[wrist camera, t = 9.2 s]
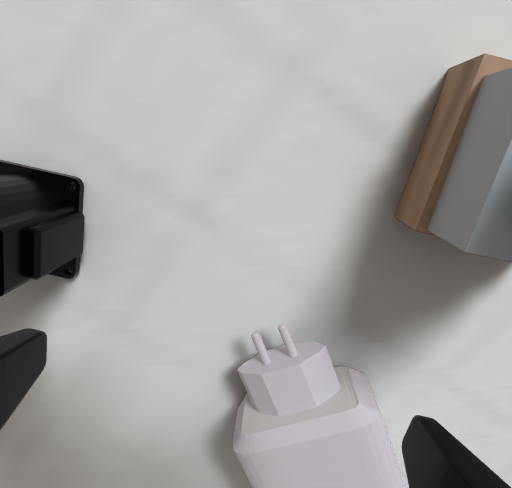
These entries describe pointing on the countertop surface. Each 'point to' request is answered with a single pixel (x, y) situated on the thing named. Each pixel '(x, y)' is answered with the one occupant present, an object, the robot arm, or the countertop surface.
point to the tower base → (443, 139)
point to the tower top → (481, 177)
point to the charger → (310, 422)
